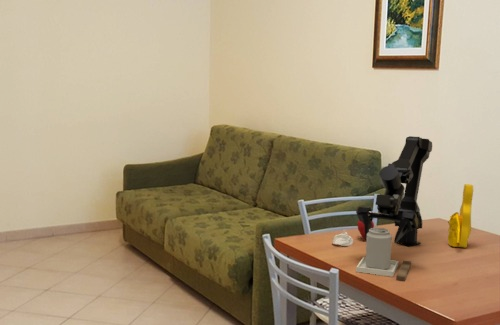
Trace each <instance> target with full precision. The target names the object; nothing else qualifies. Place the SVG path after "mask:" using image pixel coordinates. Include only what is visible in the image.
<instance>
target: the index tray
mask: <svg viewBox="0 0 500 325" xmlns="http://www.w3.org/2000/svg"><path fill="white" fill-rule="evenodd" d="M398 267H399V260H392V259H391V263H390V267H389V268H388V269H386V270H380V269H372V268H368V266H367V265H366V256H362V258H361V260H360V261H359V263H358V264H357V265H356V268H355V270H356V271H355V272H356V273H359V272H363V273H362V274H367V273H370V274H369V275H375V274H376V275H375V276H382V277H383V276H384V277H391V278H393V277H394V275H395V274H396V272H397V270H398Z"/></svg>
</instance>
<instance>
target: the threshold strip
mask: <svg viewBox="0 0 500 325" xmlns="http://www.w3.org/2000/svg"><path fill="white" fill-rule="evenodd" d="M411 266H412V261H411V260H403V261H402V263H401V264H400V267H399V270H398V272H397V274H396V276H395V281H401V282H405V281H406V279H407V276H408V274H409V271H410V269H411Z"/></svg>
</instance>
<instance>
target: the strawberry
mask: <svg viewBox="0 0 500 325" xmlns="http://www.w3.org/2000/svg"><path fill="white" fill-rule="evenodd" d="M371 223H372V226H371V228H375V227H374V226H375V224H374V221H373V220H372V221H371ZM356 225H357V229H358V231H359V234H360V236H361V238H362V239H363V240H364V239H365V240H367V239H366V238H365V227H364V224H363V223H362V222H361V221H360V220H359V219H358V221H357V224H356Z"/></svg>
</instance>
